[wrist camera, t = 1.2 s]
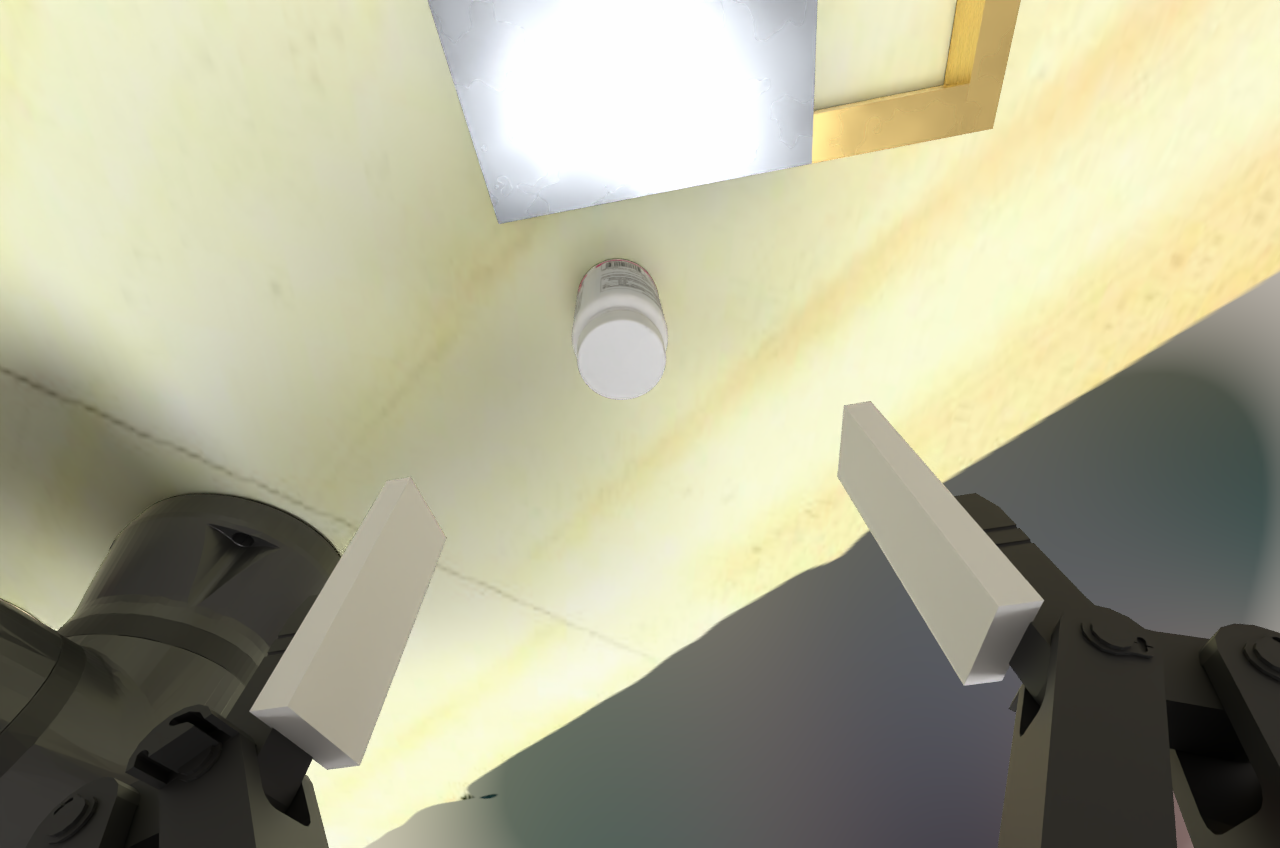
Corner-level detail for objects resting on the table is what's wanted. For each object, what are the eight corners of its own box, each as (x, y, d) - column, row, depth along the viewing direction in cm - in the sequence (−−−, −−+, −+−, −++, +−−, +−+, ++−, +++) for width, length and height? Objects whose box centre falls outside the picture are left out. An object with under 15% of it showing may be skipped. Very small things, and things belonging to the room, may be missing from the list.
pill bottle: (615, 350, 30) (617, 425, 23) (560, 295, 28) (544, 359, 21) (674, 301, 28) (695, 366, 21) (621, 238, 26) (625, 287, 19)
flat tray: (506, 216, 25) (498, 223, 23) (416, -75, 19) (398, -92, 17) (966, 126, 24) (992, 128, 22) (1031, -215, 18) (1074, -248, 16)
